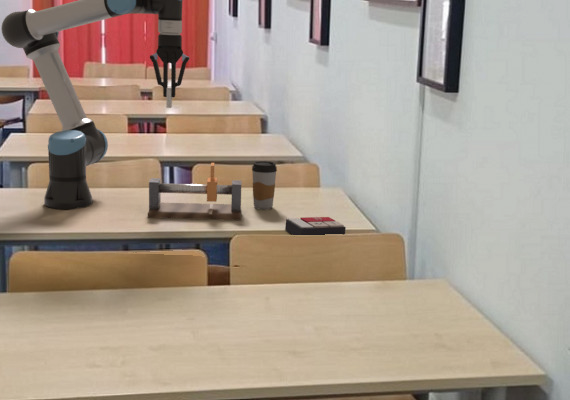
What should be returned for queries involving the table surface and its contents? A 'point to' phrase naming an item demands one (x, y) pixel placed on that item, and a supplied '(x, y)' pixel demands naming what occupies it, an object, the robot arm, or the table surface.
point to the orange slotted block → (212, 186)
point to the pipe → (192, 192)
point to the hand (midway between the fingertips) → (169, 107)
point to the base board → (195, 211)
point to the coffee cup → (263, 184)
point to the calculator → (314, 226)
